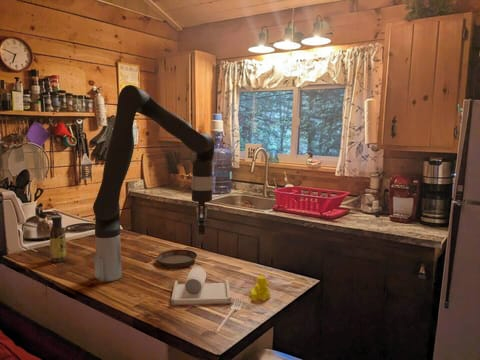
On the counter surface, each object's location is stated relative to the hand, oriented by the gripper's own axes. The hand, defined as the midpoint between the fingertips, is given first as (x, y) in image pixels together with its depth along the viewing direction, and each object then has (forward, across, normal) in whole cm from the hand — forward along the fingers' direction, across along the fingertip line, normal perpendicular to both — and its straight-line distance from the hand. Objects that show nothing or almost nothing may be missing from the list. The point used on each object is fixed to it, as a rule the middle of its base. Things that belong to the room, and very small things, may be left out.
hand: (201, 233), depth 144 cm
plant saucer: (+20, +25, +11) cm, 34 cm away
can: (+16, +1, +1) cm, 16 cm away
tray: (+20, -9, 0) cm, 22 cm away
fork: (+20, -26, -9) cm, 34 cm away
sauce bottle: (+20, +29, +64) cm, 73 cm away
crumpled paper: (+20, -13, -21) cm, 31 cm away
